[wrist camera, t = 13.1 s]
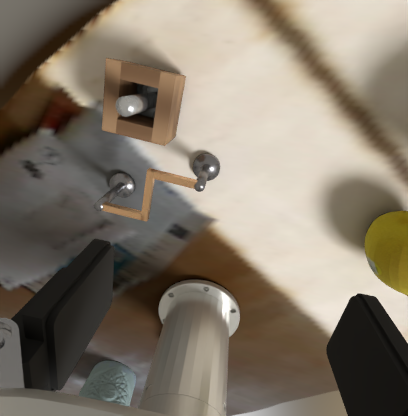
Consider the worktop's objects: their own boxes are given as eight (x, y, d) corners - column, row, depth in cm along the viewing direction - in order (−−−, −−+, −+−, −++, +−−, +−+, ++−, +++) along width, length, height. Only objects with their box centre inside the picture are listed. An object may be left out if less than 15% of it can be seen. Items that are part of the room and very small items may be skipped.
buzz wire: (224, 173, 33) (220, 195, 27) (126, 210, 37) (102, 237, 31) (207, 134, 32) (200, 148, 25) (106, 177, 35) (78, 198, 29)
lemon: (354, 200, 33) (387, 234, 26) (427, 190, 32) (483, 223, 24) (353, 272, 37) (381, 319, 30) (418, 267, 36) (463, 314, 29)
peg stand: (169, 124, 32) (147, 138, 24) (132, 115, 32) (98, 126, 24) (175, 83, 30) (153, 84, 22) (136, 73, 30) (100, 71, 22)
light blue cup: (124, 354, 50) (92, 429, 39) (150, 388, 53) (127, 467, 43) (79, 363, 53) (38, 436, 42) (107, 395, 56) (75, 471, 45)
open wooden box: (175, 136, 32) (164, 145, 27) (121, 122, 32) (102, 130, 27) (185, 76, 29) (176, 75, 24) (126, 61, 29) (106, 57, 24)
